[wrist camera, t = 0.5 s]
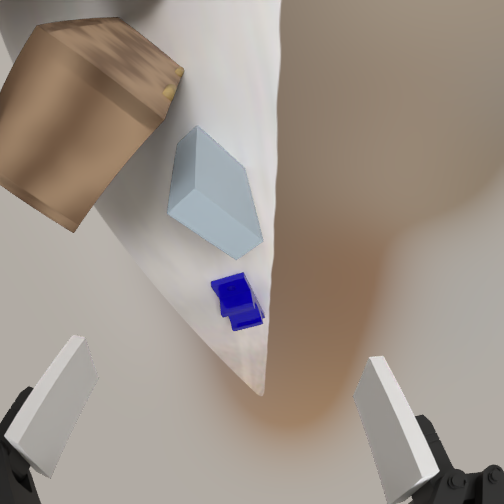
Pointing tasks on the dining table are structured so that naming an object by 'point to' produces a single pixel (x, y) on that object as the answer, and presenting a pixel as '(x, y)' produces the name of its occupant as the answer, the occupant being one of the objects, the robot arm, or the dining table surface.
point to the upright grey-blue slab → (213, 195)
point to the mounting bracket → (238, 301)
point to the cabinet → (79, 112)
